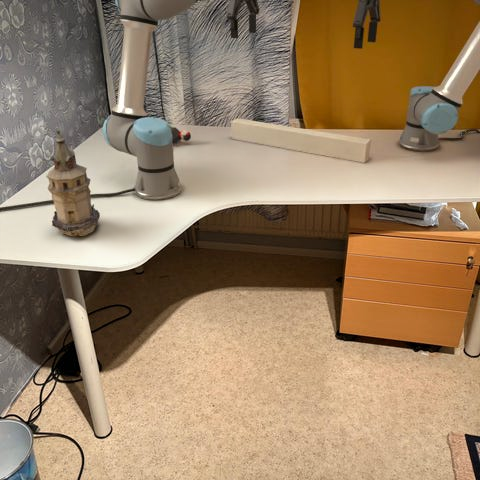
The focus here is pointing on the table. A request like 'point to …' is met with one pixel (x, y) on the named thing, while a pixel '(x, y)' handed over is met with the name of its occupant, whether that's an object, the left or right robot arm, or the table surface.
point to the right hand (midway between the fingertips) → (364, 45)
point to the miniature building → (70, 193)
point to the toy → (179, 135)
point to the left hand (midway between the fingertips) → (243, 35)
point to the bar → (301, 140)
